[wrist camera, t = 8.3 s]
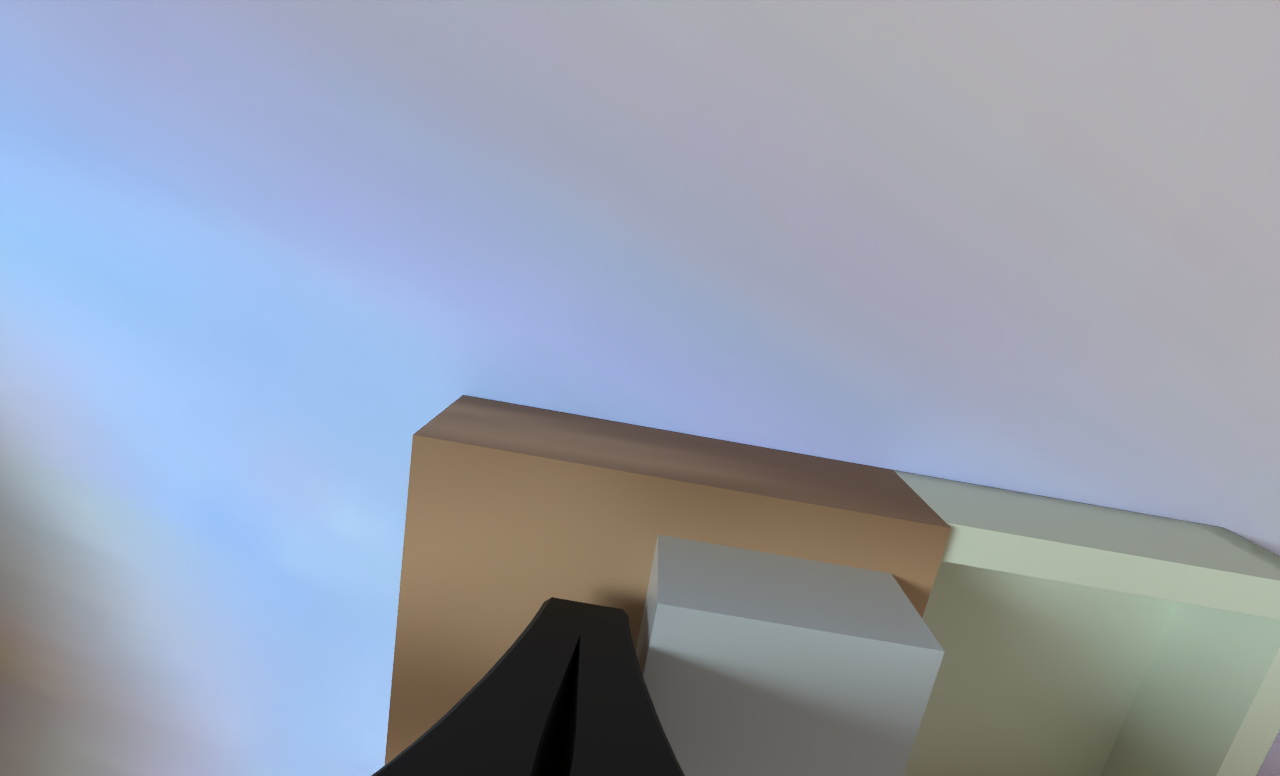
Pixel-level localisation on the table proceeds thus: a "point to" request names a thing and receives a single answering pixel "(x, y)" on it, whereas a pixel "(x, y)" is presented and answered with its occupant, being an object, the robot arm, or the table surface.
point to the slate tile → (782, 663)
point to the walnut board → (606, 530)
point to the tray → (1095, 642)
